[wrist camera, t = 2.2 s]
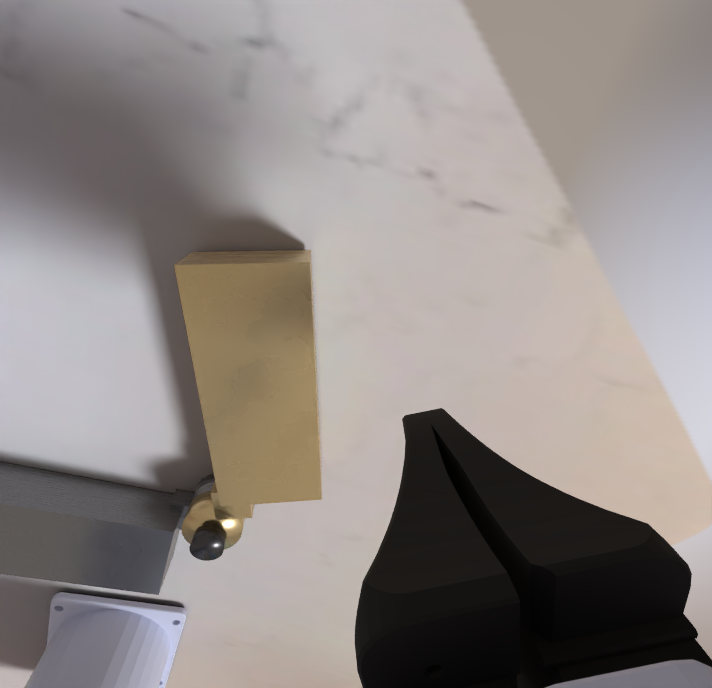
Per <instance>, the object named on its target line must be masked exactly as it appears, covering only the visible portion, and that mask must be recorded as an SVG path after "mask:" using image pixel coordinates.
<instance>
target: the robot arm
mask: <svg viewBox="0 0 712 688" xmlns="http://www.w3.org/2000/svg"><path fill="white" fill-rule="evenodd" d="M402 420H403V427H404V433H405V440H406V444H405V459H404V467H403V473H402V479H401V484H400V489H399V493H398V497H397V501H396V505H395V508H394V511H393V514H392V518H391V521H390V523H389V526H388V529H387V531H386V534H385V536H384V539H383V541H382V543H381V546H380V548H379V551H378V553H377V555H376V557H375V559H374V561H373V563H372V565H371V567H370V569H369V571H368V572H367V574H366V576H365V578H364V580H363V584H362V588H361V593H360V598H359V604H358V610H357V616H356V625H355V649H356V659H357V670H358V674H359V677H360V680H361V683H362V686H363V688H712V660H711V659H710V657H709V656H708V655H707V654H706V652H705V651H704V650H703V649H702V647H701V646H700V645H699V644H698V642H697V641H696V640H695V638H697V636H698V633H697V631H696V629H695V628H694V626H693V625H692V624H691V622H690V621H689V620H688V619H687V618H686V617H685V615H684V614H683V612H684V608H685V605H686V601H687V598H688V594H689V590H690V586H691V575H692V574H691V571H690V568H689V566H688V564H687V563H686V562H685V561H684V560H683V559H682V558H681V557H680V556H679V554H678V553H677V552H676V551H675V550H674V549H673V548H672V547H671V546H670V545H669V544H668V543H667V541H666V540H665V539H664V538H662V537H661V536H660V535H659V534H658V533H657V532H656V531H655V530H654V529H653V528H652V527H651V526H650V525H649V524H647V523H644V522H641V521H638V520H635V519H632V518H629V517H626V516H623V515H620V514H617V513H614V512H611V511H608V510H605V509H603V508H600V507H598V506H595V505H593V504H590V503H588V502H585V501H583V500H580V499H578V498H575V497H573V496H571V495H569V494H566V493H564V492H562V491H560V490H558V489H556V488H554V487H552V486H550V485H548V484H546V483H544V482H542V481H540V480H538V479H536V478H534V477H532V476H531V475H529V474H527V473H526V472H524V471H522V470H520V469H519V468H517V467H516V466H514V465H512V464H511V463H509V462H508V461H506V460H505V459H503V458H502V457H501V456H499V455H498V454H496V453H495V452H494V451H492V450H491V449H489V448H488V447H487V446H486V445H484V444H483V443H482V442H480V441H479V440H478V439H477V438H475V437H474V436H473V435H472V434H471V433H469V432H468V431H467V430H466V429H465V428H464V427H462V426H461V425H460V424H459V423H458V422H457V421H456V420H455V419H453V418H452V417H451V416H450V415H449V414H448V413H447V412H446V411H445V410H444V409H442V408H440V409H435V410H430V411H425V412H420V413H415V414H410V415H405V416H404V418H403V419H402ZM186 615H187V611H186V610H185V609H184V608H181V607H174V606H166V605H158V604H151V603H143V602H135V601H127V600H120V599H112V598H104V597H96V596H88V595H81V594H73V593H65V592H60V593H57V594H55V595H54V597H53V598H52V600H51V606H50V616H49V626H48V636H47V646H46V649H45V651H44V653H43V655H42V657H41V658H40V660H39V662H38V664H37V666H36V667H35V669H34V671H33V673H32V674H31V676H30V678H29V680H28V682H27V683H26V685H25V687H24V688H165V686H166V682H167V679H168V676H169V672H170V669H171V666H172V662H173V659H174V656H175V652H176V649H177V645H178V642H179V639H180V635H181V632H182V629H183V625H184V622H185V619H186Z"/></svg>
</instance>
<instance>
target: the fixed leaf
mask: <svg viewBox="0 0 712 688" xmlns="http://www.w3.org/2000/svg"><path fill="white" fill-rule="evenodd" d="M214 481H215V477H214V474H213V475H210V476H207V477H205V478H204V479H202V480H201V481H200V482H199V483H198V485H197V487H196V489H195V492H188V491H183V490H178V489H176V491H175V494H170V493H165V492H159V491H154V490H149V489H143V488H138V487H133V486H127V485H122V484H117V483H111V482H106V481H101V480H95V479H90V478H85V477H79V476H74V475H69V474H63V473H58V472H53V471H47V470H42V469H37V468H31V467H26V466H21V465H15V464H10V463H5V462H0V574H6V575H14V576H21V577H29V578H36V579H43V580H51V581H58V582H66V583H73V584H81V585H88V586H96V587H103V588H111V589H118V590H126V591H133V592H141V593H148V594H156V595H159V592H160V589H161V587H162V584H163V581H164V579H165V576H166V573H167V570H168V568H169V565H170V562H171V560H172V557H173V553H174V549H175V545H176V541H177V538H178V534H179V530H180V529H182V524H183V521H184V519H185V516H186V513H187V511H188V508H189V505H190V503H191V502H192V500H193V499H194V498H195V497H197V496H198V495H200V494H202V493H205V492H209V491H212V488H213V485H214ZM226 538H227V533H226V531H225V530H224V529H223V528H222V527H220V526H218V525H215V524H205V525H202V526H200V527H198V528H197V529H196V530H195V533H194V536H193V539H192V542H191V545H190V552H191V554H192V555H193V556H194V557H196V558H198V559H200V560H214V559H216V558H218V557H220V556H221V555H222V553H223V550H224V546H225V542H226Z"/></svg>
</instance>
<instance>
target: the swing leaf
mask: <svg viewBox="0 0 712 688" xmlns="http://www.w3.org/2000/svg"><path fill="white" fill-rule="evenodd" d="M174 268H175V273H176V278H177V283H178V289H179V294H180V299H181V304H182V309H183V315H184V320H185V325H186V330H187V336H188V341H189V346H190V351H191V357H192V362H193V367H194V372H195V378H196V383H197V388H198V393H199V398H200V404H201V409H202V414H203V419H204V425H205V430H206V435H207V440H208V446H209V451H210V456H211V461H212V467H213V472H214V477H215V481H214V485H213V488H212V491H209V492H205V493H202V494H200V495H198V496H197V497H195V498H194V499H193V500H192V502H191V503H190V505H189V508H188V511H187V513H186V516H185V519H184V521H183V524H182V534H183V536H184V538H185V539H186V541H187V542H188V543H190V544H191V542H192V539H193V536H194V533H195V530H196V529H197V528H198V527H200V526H202V525H205V524H215V525H218V526H220V527H222V528H223V529H224V530H225V531H226V533H227V538H226V542H225V546H224V549H227V548H229V547H231V546H233V545H234V544H235V543H236V542H237V541H238V540H239V539H240V537H241V534H242V529H243V524H244V519H245V518H252V515H253V509H254V504H263V503H278V502H292V501H306V500H321V499H322V486H321V452H320V431H319V410H318V389H317V368H316V347H315V326H314V305H313V285H312V264H311V250H281V251H228V252H192V253H191V254H189V255H188V256H186V257H185V258H183V259H182V260H181V261H179V262H178V263H176V264H175V265H174Z"/></svg>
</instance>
